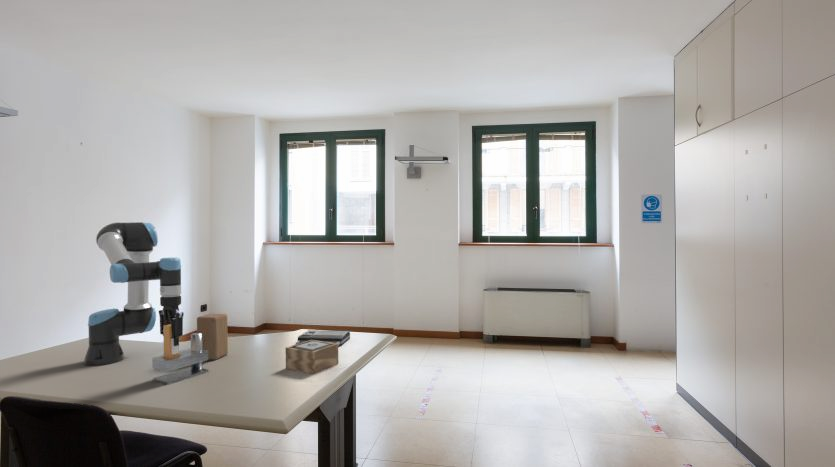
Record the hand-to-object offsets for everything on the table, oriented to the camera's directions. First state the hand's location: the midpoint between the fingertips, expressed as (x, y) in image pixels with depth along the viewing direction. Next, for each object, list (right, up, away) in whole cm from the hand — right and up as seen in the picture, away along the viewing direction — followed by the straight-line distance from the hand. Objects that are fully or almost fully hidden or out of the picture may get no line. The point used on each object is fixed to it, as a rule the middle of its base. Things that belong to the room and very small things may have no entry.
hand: (171, 352), depth 184 cm
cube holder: (+54, -10, +15) cm, 57 cm away
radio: (+50, -10, +57) cm, 76 cm away
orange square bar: (0, -3, 0) cm, 3 cm away
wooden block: (+3, -10, +31) cm, 33 cm away
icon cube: (+55, -10, +13) cm, 57 cm away
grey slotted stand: (+2, -11, +4) cm, 11 cm away
